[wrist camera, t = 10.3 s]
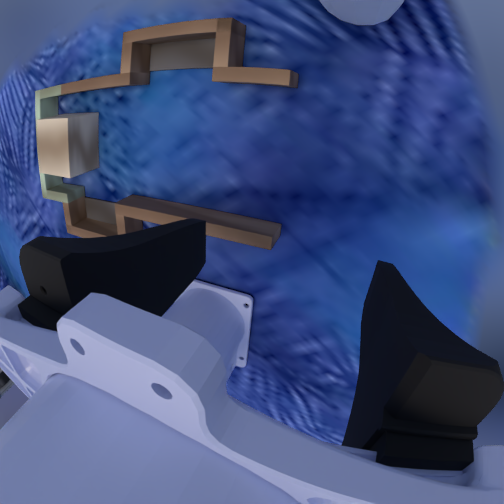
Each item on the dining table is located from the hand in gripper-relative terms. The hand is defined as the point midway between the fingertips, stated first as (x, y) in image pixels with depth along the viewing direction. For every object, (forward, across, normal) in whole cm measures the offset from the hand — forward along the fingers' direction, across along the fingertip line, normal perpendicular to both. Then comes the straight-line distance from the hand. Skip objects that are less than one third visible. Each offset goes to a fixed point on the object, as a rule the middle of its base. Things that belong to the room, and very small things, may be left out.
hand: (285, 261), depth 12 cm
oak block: (+11, +24, -2) cm, 26 cm away
